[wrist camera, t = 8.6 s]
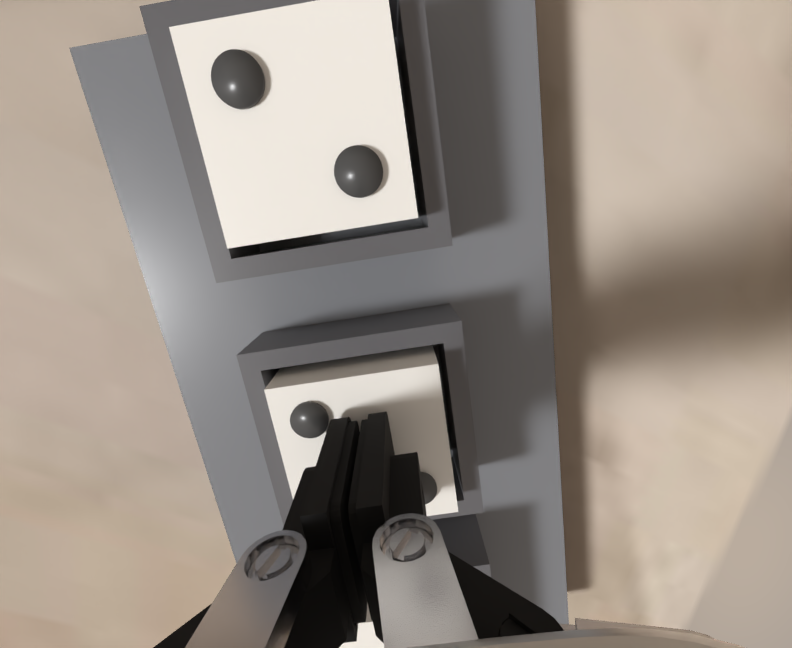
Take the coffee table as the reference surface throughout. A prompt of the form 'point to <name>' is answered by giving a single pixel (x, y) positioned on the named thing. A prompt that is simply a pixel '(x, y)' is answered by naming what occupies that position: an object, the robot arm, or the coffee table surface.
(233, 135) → the two-dot tile
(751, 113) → the coffee table surface
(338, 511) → the robot arm
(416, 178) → the key board
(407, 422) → the three-dot tile
